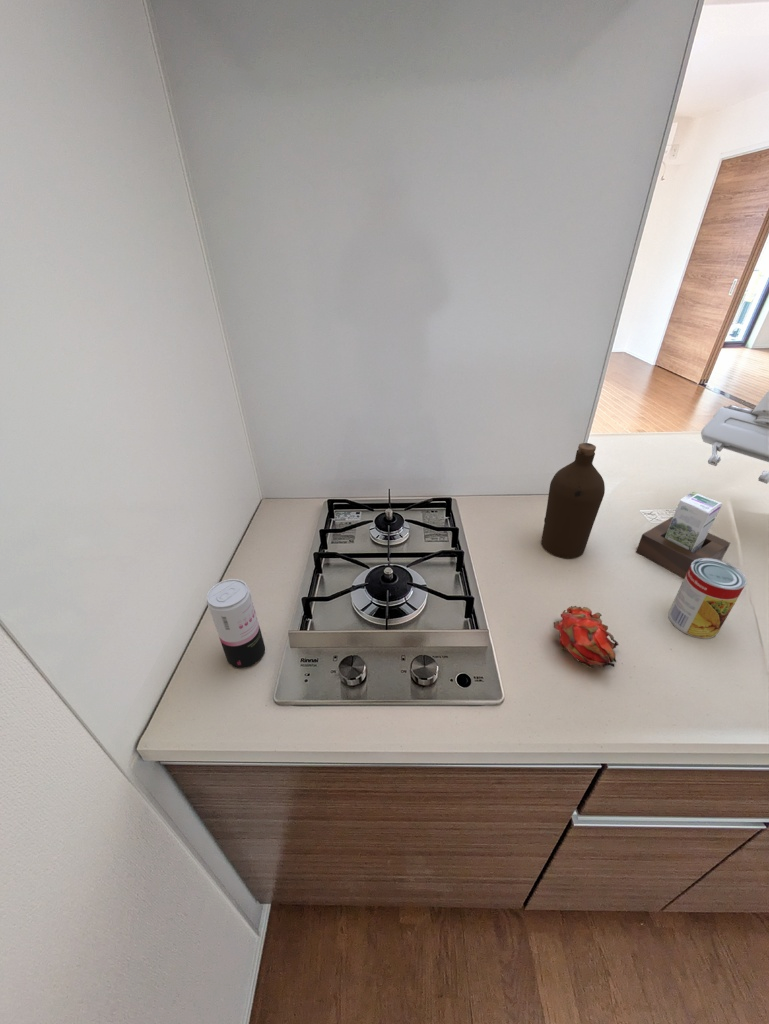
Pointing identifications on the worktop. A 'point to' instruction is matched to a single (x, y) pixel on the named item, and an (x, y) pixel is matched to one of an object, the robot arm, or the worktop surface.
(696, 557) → the holder
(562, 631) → the dragon fruit
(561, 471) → the olive oil
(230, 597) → the beverage can
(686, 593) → the canned food
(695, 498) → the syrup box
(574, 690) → the worktop surface
